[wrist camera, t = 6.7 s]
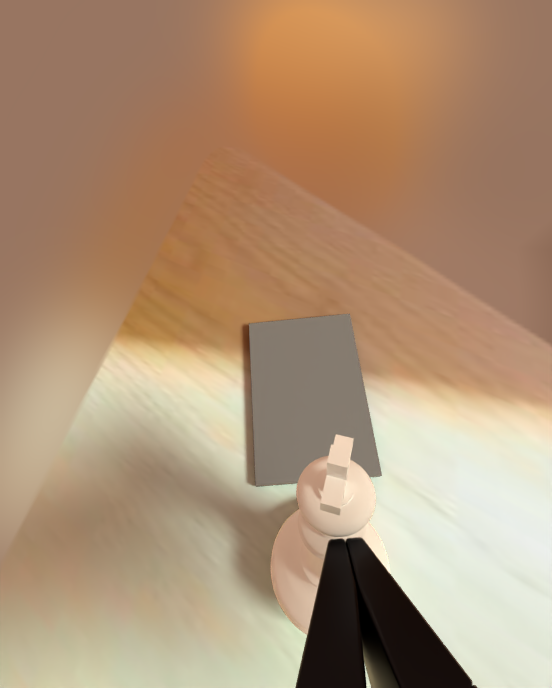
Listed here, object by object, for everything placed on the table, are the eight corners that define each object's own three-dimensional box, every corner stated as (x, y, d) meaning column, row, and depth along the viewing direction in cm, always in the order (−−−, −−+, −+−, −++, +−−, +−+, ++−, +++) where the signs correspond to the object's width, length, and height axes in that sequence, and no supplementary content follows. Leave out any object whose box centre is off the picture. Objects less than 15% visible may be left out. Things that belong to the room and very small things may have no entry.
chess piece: (254, 614, 14) (184, 541, 6) (289, 492, 17) (268, 353, 10) (383, 666, 12) (472, 647, 5) (394, 523, 15) (460, 388, 8)
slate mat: (380, 476, 17) (381, 475, 16) (256, 486, 17) (255, 485, 16) (348, 317, 21) (349, 313, 20) (249, 327, 21) (248, 323, 21)
